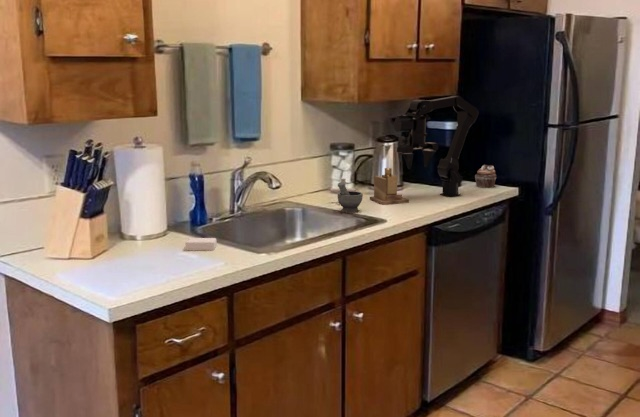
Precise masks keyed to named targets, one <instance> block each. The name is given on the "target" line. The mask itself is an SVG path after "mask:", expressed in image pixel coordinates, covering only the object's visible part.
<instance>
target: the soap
mask: <svg viewBox="0 0 640 417" xmlns="http://www.w3.org/2000/svg"><path fill="white" fill-rule="evenodd" d="M217 246H218V242H217V238H216V237H204V238H203V237H190V238H187V240H186V242H185V251H187V250H193V251H215V250H216V248H217ZM214 249H215V250H214Z"/></svg>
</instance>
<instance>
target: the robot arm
mask: <svg viewBox="0 0 640 417" xmlns="http://www.w3.org/2000/svg"><path fill="white" fill-rule="evenodd" d="M449 107H450V108H451V107H452V108H453V110H454V111H455V112H456V113H457V114H456V116H457V117H456V120H457V125H456V129H455V131H454V134H453V137H452V140H451V143H450V146H449V148H448V152H447V155H446V157H444V158H440V160H439V161H438V162H439V163H438V165H437V166H436V168H437V174H438V176H439V177H440V180H441V181H442V182H443V183H442V191H441V192H442V193H439V194H440V196H445V197H450V198H453V197H458V196H459V197H460V196H461V195H462V194H461V193H459V186H460V184H459V183H461V182H462V180H463V176H462V175H461V174H460V173H459V167H460V166H459V158H460V154H461V153H462V152H461V151H462V149H463V146H464V144H465V140H466V137H467V134H468V132H469V130H470V128H471V127H472V125H473V124H475V122H476V121H477V118H478V116H479V110H478V108H477V107H476V106H475V105H473V104H471V103H470V102H468V101H466V100H465V99H464V98H463V97H462V96H461V95H451V96H447V97H441V98H435V99H429V100H427V99H426V100H425V99H414V100H412V101H411V102H410V103H409V107H408V109H407V110H406V112H405V113H404V114H396V118H395V119H394V122H393V129H394V131H395V132H396V133H401V132H409V133H408V136H407V137H405V135H400V136H399V137H398V144H399V145H398V146H397V147H396V153H399V155H401V156H402V157H403V158H404V161H405V164H406V167H407V170H411V169H412V165H413V159H414V154H415V153H413V152H414V151H420V150H421V152H422V153H423V168H427V167H428V165H429V163H430V162H431V160H432V158H433V156H434V155H435V153H436V152H437V151H439V144H438V142H437V143H436V142H432V141H431V142H430V141H429V142H426V137H428V133H427V132H426V128H427V127H426V126H427V125H426V121H427V120H431V117H430V116H429V115H428V113H430V112H432V111H434V110H437V109H443V108H449Z"/></svg>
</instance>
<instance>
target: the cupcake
mask: <svg viewBox="0 0 640 417" xmlns="http://www.w3.org/2000/svg"><path fill="white" fill-rule="evenodd" d="M476 172H477V173H476V174H475V175H474V179H475V185H476V188H480V189H490V188H494V187H495V183H496V179H497V174H496V170H495V167H494V165H493V164H490V165H489V164H483V165H482V166H481V168H479V169H478V170H477V171H476Z"/></svg>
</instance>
